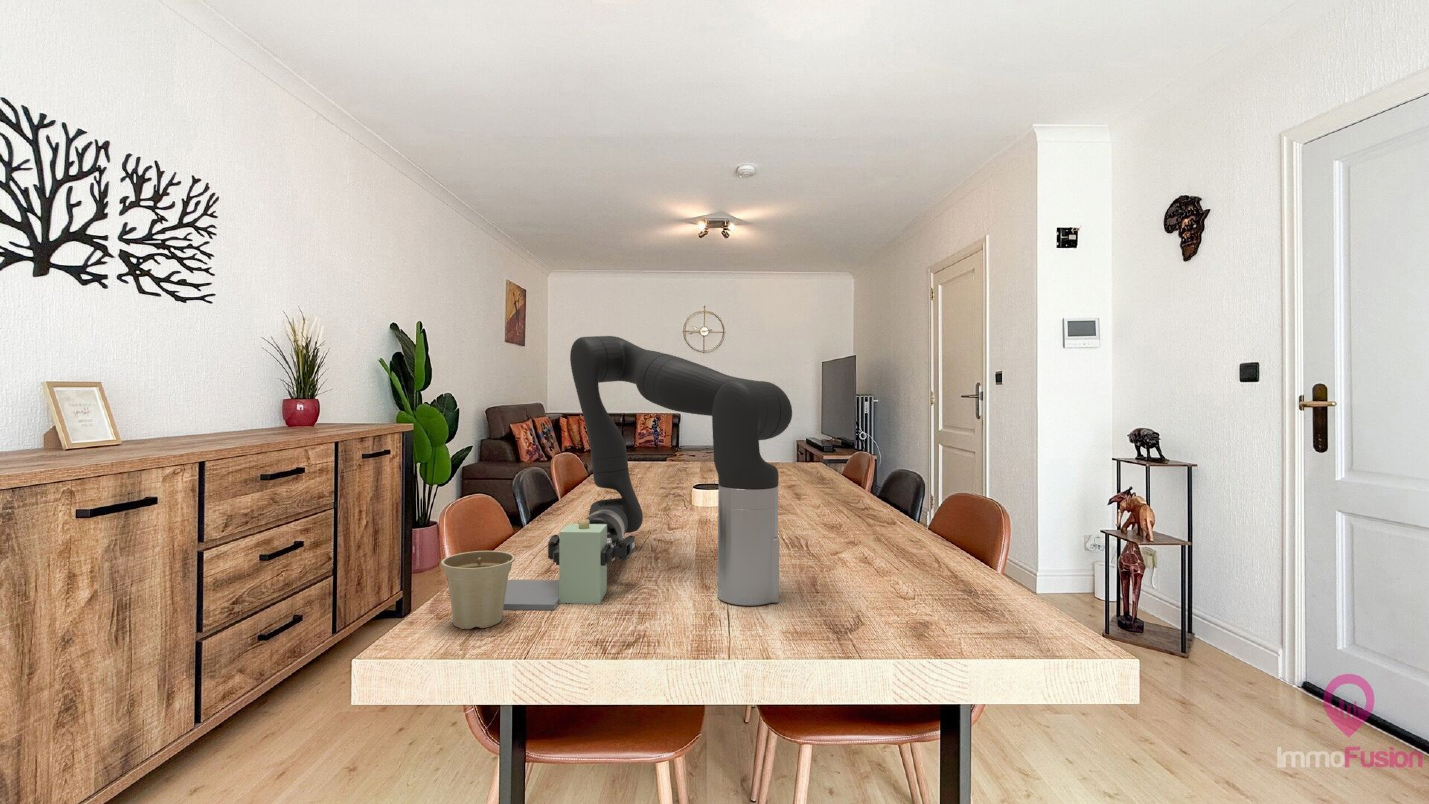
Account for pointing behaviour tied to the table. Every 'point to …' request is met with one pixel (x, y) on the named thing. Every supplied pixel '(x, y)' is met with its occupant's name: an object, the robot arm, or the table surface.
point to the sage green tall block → (582, 563)
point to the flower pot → (477, 586)
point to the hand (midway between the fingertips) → (580, 558)
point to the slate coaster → (531, 595)
